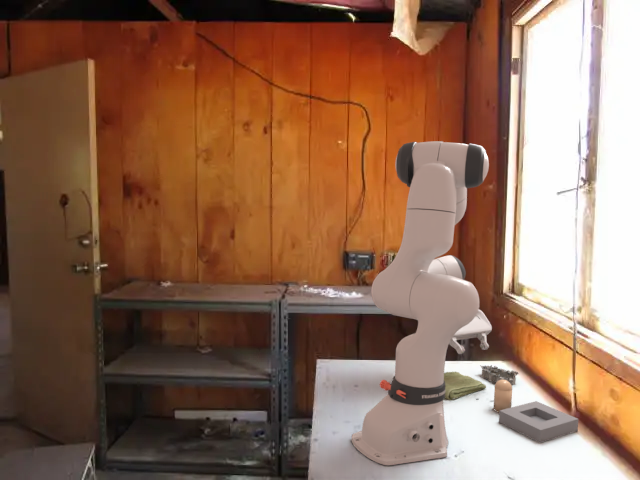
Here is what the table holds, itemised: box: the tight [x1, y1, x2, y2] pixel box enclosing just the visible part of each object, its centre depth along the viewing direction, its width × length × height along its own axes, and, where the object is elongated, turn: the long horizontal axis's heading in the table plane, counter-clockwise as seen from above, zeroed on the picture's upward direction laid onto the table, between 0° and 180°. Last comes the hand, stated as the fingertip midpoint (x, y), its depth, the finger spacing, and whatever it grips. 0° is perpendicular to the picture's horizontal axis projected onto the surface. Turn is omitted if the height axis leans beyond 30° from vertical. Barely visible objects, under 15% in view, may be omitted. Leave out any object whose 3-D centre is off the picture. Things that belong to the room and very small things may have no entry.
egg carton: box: [479, 364, 519, 386], centre depth 156 cm, size 11×8×4 cm
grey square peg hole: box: [498, 400, 579, 443], centre depth 123 cm, size 14×12×3 cm
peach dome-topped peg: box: [493, 380, 513, 412], centre depth 132 cm, size 4×4×8 cm
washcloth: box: [444, 371, 487, 401], centre depth 148 cm, size 13×18×3 cm
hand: (474, 350), depth 141 cm, fingers open, 8 cm apart
